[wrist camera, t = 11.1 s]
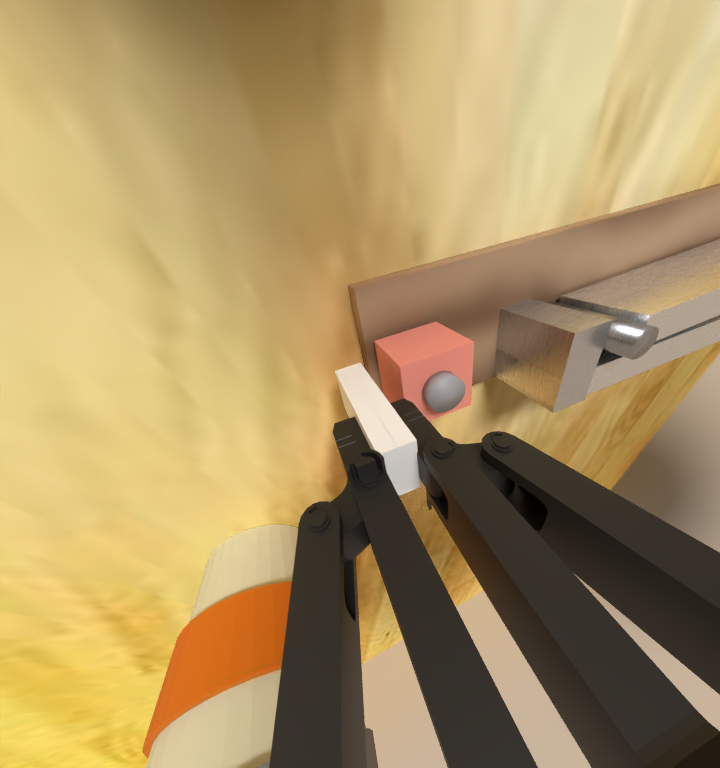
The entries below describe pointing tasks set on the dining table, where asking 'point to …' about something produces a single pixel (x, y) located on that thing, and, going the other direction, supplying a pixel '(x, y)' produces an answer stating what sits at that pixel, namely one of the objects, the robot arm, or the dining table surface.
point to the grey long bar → (576, 352)
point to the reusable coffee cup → (230, 660)
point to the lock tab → (427, 368)
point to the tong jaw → (653, 299)
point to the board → (527, 273)
